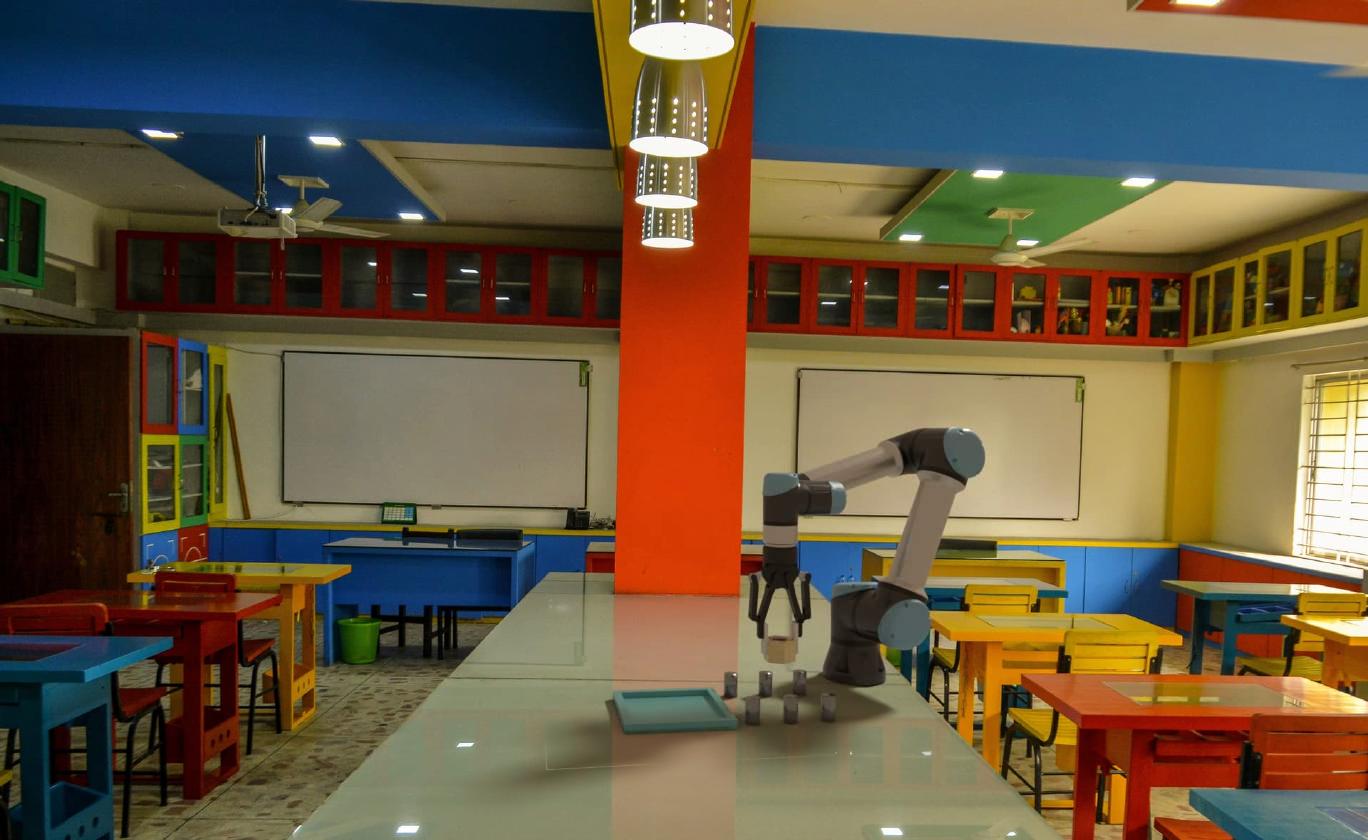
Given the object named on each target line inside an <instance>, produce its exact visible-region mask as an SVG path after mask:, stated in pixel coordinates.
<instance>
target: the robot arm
mask: <svg viewBox="0 0 1368 840" xmlns="http://www.w3.org/2000/svg"><path fill="white" fill-rule="evenodd" d="M985 464H986V451H985V447H984V446H983V441H982V440H981V437H979V435H978V434H977V433H976V432H974V431H973V430H971V429H969V428H965V427H962V428H961V427H957V426H951V427H922V428H917V429H913V430H912V429H911V430H910V431H907V432H904V433H900V434H898V435H896V436H893V437H890V438H888V439H884V440H882V441H880V442H879V443H878V444H877V446H876V447H873V448H871V449H868V450H865V451H861V452H859V453H855V454H853V455H850V456H847V457H844V458H841V459H838V460H835V461H832V462H830V463H826V464H824V465H820V466H818V467H815V468H812V469H808V470H806V471H803V472H800V473H795V472H768V473H766V474H765V475H764V476H763V483H762V484H763V485H762V491H761V492H762V543H764V545H763V546H762V566H761V568H760V571H756V572H749V573H748V574H747V575H748V576H747V577H748V579H749V580H748V581H749V584H750V585H749V586H750V587H749V596H748V597H749V599H748V611H747V612H748V613H747V617H748V618H749V620H751V621H752V622H755V623H756V637H757V638H758V640H760V653H761V654H762V655H763V656H764V655H768V636H769V624H768V623H767V622H766V619H767V615H768V612H769V609H770V606H771V603H772V599H773V595H774V594H775V592H776V590H779V589H784V590H785V591H786V594H787V598H788V601H789V605H790V609H791V612H792V614H793V618H794V620H791V621H790V636H791V637H792V638H793V639H794V640H796V655H799V638H802V637H803V624H805V621H807V620H811V619H812V603H811V590H810V589H811V588H810V584H811V580H812V577H813V575H812V574H811V573H810V572H809V571H802V570H800V568H799V566H798V565H799V564H798V562H799V552H798V551H799V547H798V546H797V544H798V543H799V528H798V527H799V517H803V516H805V517H807V516H808V517H809V516H812V517H813V516H828V517H830V516H833V515H840V514H841V513H843V511H844V510H845V508H846V506H847V496H848V495H847V491H848V490H851V489H855V488H857V487H860V486H863V485H866V484H869V483H872V482H875V481H876V480H877V481H878V480H879V479H882V478H883V479H884V478H885V477H890V478H892V479H894V478H897V477H901V476H904V475H916V476H917V478H918V480H919V485H918V487H917V491H916V493H915V496H914V499H913V502H912V505H911V508H910V510H909V513H908V517H907V519H906V522H905V524H904V528H903V531H902V534H901V536H900V539H899V542H898V545H897V548H896V551H895V554H894V558H893V560H892V563H891V566H890V568H889V570H888V571H889V572H888V574H887V576H885V577H882V578H880V579H878V582H876V581H848V582H838V583H835V584H834V585H833V586H832V588H831V594H830V600H829V601H830V644H829V648H828V649H827V650H828V651H827V653H826V655H825V656H826V657H825V659H824V661H823V664H822V676H823V677H824V678H825V679H826V680H828V681H831V682H834V683H838V684H842V685H848V686H849V685H850V686H873V685H874V686H875V685H879V684H883V683H885V682H886V680H887V670H886V666H885V663H884V659H883V656H882V653H881V650H880V645H882V646H885V647H887V648H889V649H893V650H894V649H896V650H900V651H909V650H913V649H914V648H916V647H918V646H920V645H921V644H922V643H923V642H924V641H925V640H926V638H927V636H928V635H929V633H930V629H931V627H932V618H931V617H930V615H931V611H930V609H929V608H928V607H927V604H928V600H929V597H928V595H927V593H926V591H925V590H926V589H925V588H926V585H927V581H928V578H929V576H930V572H931V570H932V567H933V564H934V561H935V559H936V555H937V552H938V549H939V546H940V542H941V540H942V537H943V533H944V531H945V528H946V525H947V523H948V519H949V515H950V513H951V510H952V507H953V504H954V501H955V498H956V495H957V494H959V493H961V492H964V490H965V489H966V486H967V484H968V481H969V479H972V478H975V477H976V476H977V475H980V473H981V472H982V471H983V470H984V469H983V468H984V467H985ZM762 578H763V580H764V581H765V582H766V583H765V586H764V591H763V596H762V598H761V602H760V605H758V604H759V590H760V589H759V588H760V584H759V583H760V582H761V579H762ZM797 579H799V581H800V594H801V595H800V597H801V598H800V599H801V606H800V602H799V599H798V596H797V593H796V588H795V585H794V583H795V581H796V580H797ZM758 606H759V608H758Z"/></svg>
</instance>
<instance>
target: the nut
mask: <svg viewBox="0 0 1368 840" xmlns="http://www.w3.org/2000/svg"><path fill="white" fill-rule="evenodd" d="M796 655H797V654H796V640H794V639H793V638H792V637H791V635H790V636H789V635H779V634H773V635H770V636H769V635H768V655H763V660H765V662H767V663H769V664H778V665H779V664H780V665H787V664H791V663H795V662H796Z"/></svg>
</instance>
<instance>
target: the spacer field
mask: <svg viewBox="0 0 1368 840" xmlns="http://www.w3.org/2000/svg"><path fill="white" fill-rule="evenodd" d="M723 675H724V677H723V678H724V679H723V697H724V698H727V699H736V698H738V686H739V685H738V683H739V682H738V681H739V680H738V679H739V673H738V672H735V671H725V672H724V673H723ZM807 676H808V675H807V670H805V669H794V670H792V694H790V693H788V694H784V695H783V704H782V707H783V709H782V713H783V714H782V722H783V723H784V724H788V725H795V724H798V723H799V696H801V697H804V696H806V695H807ZM772 696H773V672H772V671H770V670H760V671H758V696H756V695H747V696H745V697H744V698H745V700H744V724H745V725H747V726H751V727H752V726H754V727H755V726H760V724H761V697H762V698H771V697H772ZM836 702H837V695H836V694H834V693H830V692H824V693H821V694H820V721H822V722H824V723H835V722H836V712H837V711H836V710H837V709H836V706H837V705H836V704H837V703H836Z"/></svg>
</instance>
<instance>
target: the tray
mask: <svg viewBox="0 0 1368 840" xmlns="http://www.w3.org/2000/svg"><path fill="white" fill-rule="evenodd" d="M612 701H613V703H614V706H615V709H616V712H617V715H618V718H619V721H620V723H621V724H620V725H621V726H622V729H623V732H624V735H635V734H636V735H639V734H641V735H642V734H659V733H662V734H663V733H682V732H686V733H687V732H701V731H702V732H703V731H704V732H706V731H728V730H729V731H730V730H738V720H739V719H737V717H736V716H735V714H734V713H733V711H731V709H730V708H729V707H728V706H727V704H726V703H725V701H724V700H723V698H721V696H720V695H719V693H717V691H716V690H715V688H714V687H712V686H709V687H708V686H707V687H681V688H653V689H652V688H651V689H649V688H648V689H624V690H622V689H620V690H612Z"/></svg>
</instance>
